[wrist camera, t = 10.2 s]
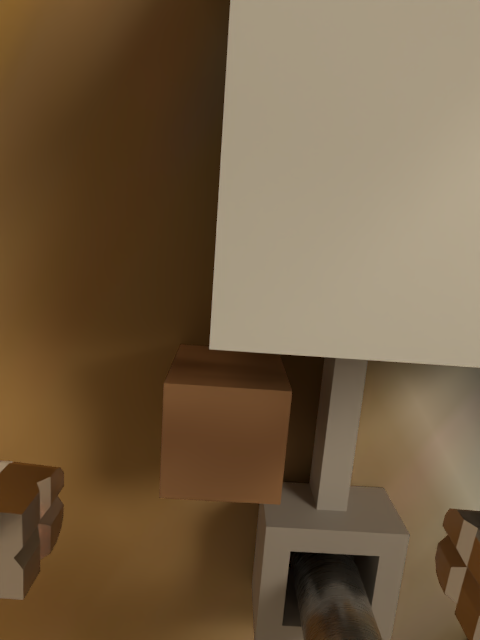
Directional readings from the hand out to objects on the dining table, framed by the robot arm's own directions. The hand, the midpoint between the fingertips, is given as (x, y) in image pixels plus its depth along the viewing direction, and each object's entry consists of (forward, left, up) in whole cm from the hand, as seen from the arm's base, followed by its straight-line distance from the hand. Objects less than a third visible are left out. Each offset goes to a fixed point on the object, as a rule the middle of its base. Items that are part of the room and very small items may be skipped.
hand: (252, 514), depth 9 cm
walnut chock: (+1, +1, -9) cm, 9 cm away
